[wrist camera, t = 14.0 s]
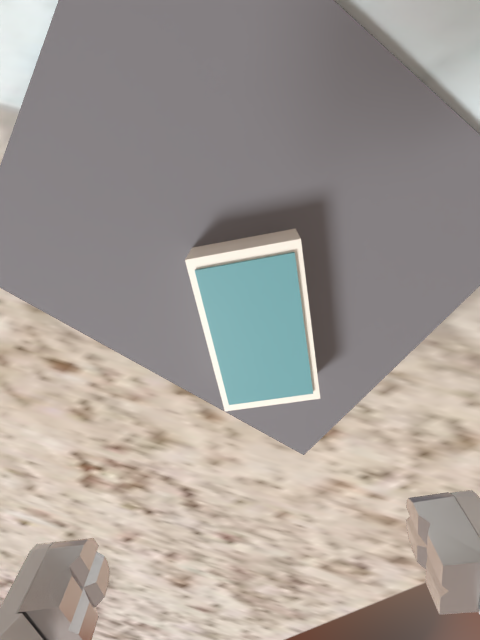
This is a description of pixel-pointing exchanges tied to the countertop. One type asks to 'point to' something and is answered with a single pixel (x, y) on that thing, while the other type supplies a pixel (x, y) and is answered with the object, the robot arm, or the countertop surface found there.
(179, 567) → the countertop surface
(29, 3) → the countertop surface
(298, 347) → the card box
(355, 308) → the mat
